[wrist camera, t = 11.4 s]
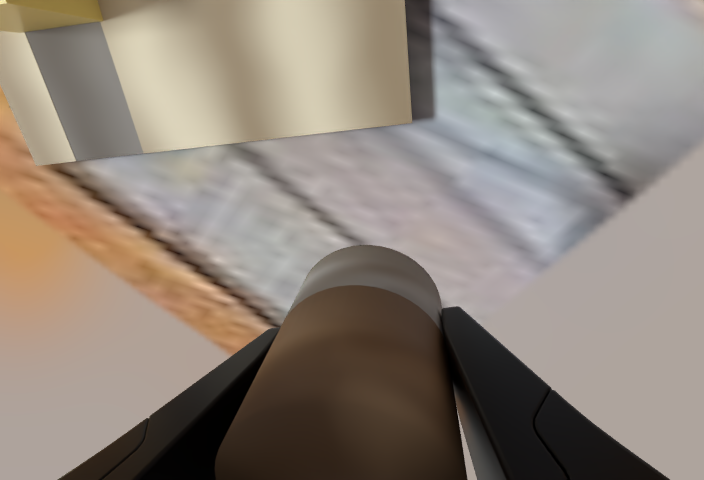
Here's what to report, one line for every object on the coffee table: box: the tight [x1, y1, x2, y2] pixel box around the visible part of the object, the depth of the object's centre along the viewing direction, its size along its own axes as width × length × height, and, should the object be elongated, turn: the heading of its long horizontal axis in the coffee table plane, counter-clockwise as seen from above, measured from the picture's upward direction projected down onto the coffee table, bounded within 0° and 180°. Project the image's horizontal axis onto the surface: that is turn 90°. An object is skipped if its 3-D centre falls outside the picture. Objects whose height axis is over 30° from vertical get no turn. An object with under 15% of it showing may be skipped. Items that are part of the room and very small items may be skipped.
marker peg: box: [215, 245, 467, 480], centre depth 8 cm, size 4×4×5 cm
